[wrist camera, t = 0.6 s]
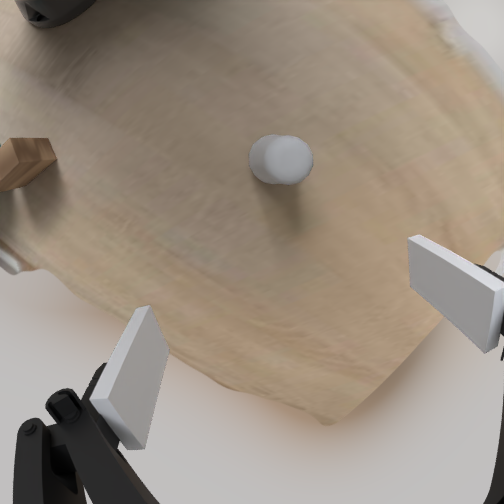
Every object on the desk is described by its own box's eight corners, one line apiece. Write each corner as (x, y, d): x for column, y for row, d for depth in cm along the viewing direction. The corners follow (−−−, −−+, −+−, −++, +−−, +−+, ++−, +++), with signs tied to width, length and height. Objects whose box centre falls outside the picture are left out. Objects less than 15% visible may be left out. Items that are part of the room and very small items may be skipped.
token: (17, 166, 35) (-22, 172, 26) (47, 138, 34) (9, 137, 26) (25, 186, 36) (-13, 195, 27) (57, 158, 35) (19, 162, 27)
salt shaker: (268, 191, 38) (285, 209, 26) (237, 156, 37) (239, 157, 25) (304, 161, 38) (338, 165, 25) (274, 126, 36) (294, 112, 24)
